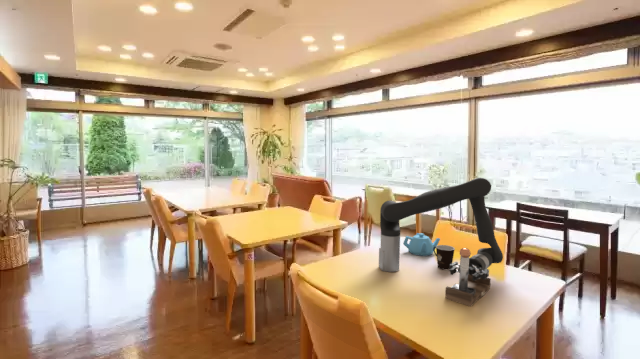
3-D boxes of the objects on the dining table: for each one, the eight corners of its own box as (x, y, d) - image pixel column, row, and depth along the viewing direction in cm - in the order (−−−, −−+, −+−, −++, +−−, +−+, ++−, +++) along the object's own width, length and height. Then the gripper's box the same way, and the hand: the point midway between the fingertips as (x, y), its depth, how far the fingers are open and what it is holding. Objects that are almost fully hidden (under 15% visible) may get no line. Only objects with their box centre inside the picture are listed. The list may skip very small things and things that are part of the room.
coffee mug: (456, 270, 171) (457, 250, 170) (438, 270, 171) (439, 250, 170) (448, 262, 182) (449, 243, 181) (431, 262, 182) (432, 243, 181)
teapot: (417, 246, 209) (418, 228, 208) (440, 252, 197) (441, 234, 196) (401, 251, 199) (401, 233, 198) (424, 258, 188) (425, 238, 186)
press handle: (470, 298, 136) (473, 251, 134) (450, 292, 142) (452, 247, 140) (475, 294, 140) (478, 248, 138) (455, 288, 145) (457, 244, 143)
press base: (471, 306, 134) (472, 295, 133) (445, 298, 141) (445, 287, 140) (491, 289, 150) (491, 278, 149) (466, 282, 157) (466, 272, 156)
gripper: (460, 252, 155) (445, 261, 143) (495, 260, 145) (481, 270, 133) (459, 268, 156) (444, 279, 144) (494, 277, 146) (480, 289, 134)
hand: (462, 275), depth 139 cm, fingers open, 8 cm apart
